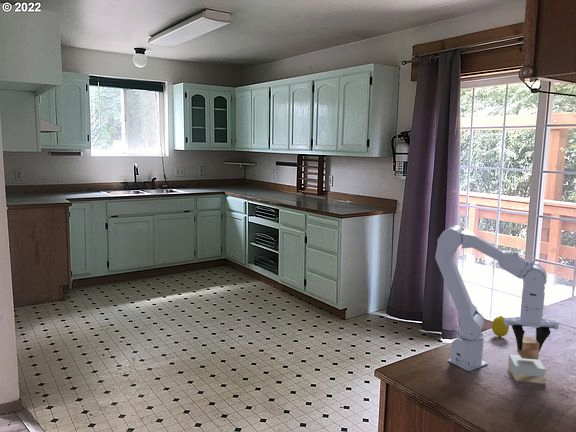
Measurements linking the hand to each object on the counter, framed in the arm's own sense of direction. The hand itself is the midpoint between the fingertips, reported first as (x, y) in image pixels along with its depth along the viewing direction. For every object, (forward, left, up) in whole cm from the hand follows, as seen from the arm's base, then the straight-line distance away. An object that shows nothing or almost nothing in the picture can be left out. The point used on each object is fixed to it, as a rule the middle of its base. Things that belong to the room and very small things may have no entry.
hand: (528, 349), depth 139 cm
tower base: (0, 0, -9) cm, 9 cm away
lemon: (+18, +22, -8) cm, 30 cm away
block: (0, 0, -2) cm, 2 cm away
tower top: (0, 0, -6) cm, 6 cm away
